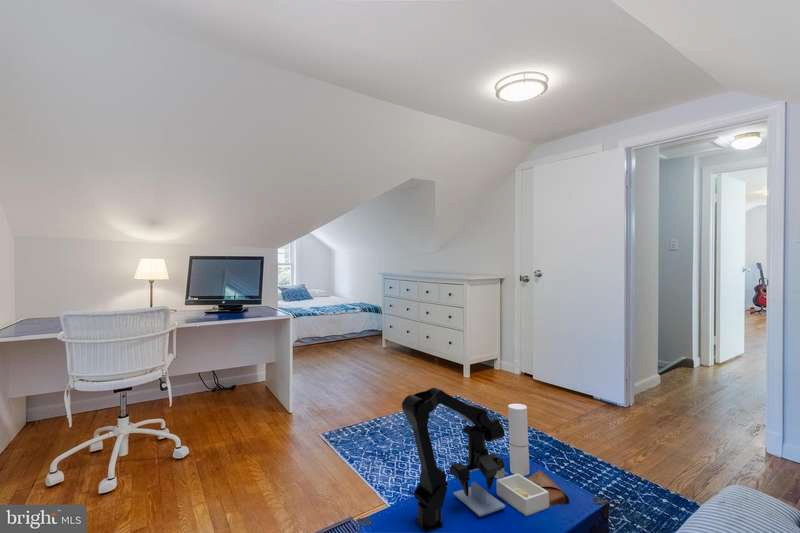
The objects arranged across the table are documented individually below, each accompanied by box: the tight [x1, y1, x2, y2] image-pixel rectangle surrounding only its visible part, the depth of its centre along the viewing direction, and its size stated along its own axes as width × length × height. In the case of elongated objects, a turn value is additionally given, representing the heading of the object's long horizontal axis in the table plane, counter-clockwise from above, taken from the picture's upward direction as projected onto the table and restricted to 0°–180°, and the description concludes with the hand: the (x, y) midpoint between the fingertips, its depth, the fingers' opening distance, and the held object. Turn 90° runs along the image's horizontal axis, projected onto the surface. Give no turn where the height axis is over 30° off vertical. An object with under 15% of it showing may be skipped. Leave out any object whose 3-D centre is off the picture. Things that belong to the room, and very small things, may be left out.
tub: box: [495, 474, 550, 517], centre depth 129 cm, size 10×14×5 cm
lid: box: [452, 481, 506, 517], centre depth 127 cm, size 10×14×6 cm
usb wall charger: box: [494, 467, 509, 480], centre depth 145 cm, size 4×7×4 cm, turn 36°
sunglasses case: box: [525, 469, 570, 507], centre depth 135 cm, size 18×7×7 cm
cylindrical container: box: [507, 403, 530, 477], centre depth 150 cm, size 7×7×25 cm
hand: (478, 492), depth 128 cm, fingers open, 9 cm apart
